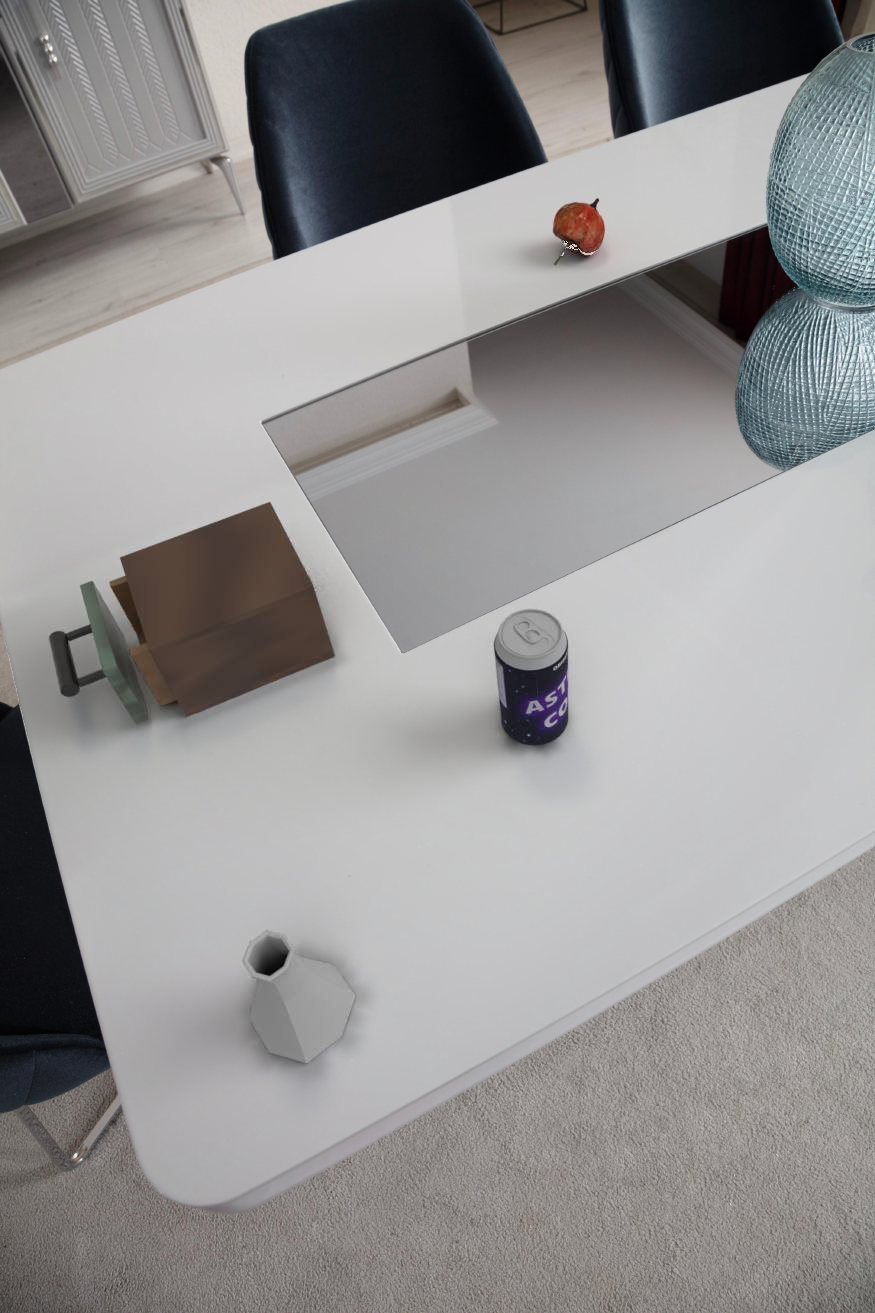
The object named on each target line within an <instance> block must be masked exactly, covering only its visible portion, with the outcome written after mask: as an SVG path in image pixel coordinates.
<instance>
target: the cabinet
mask: <svg viewBox="0 0 875 1313" xmlns="http://www.w3.org/2000/svg"><path fill="white" fill-rule="evenodd" d="M119 560H120V563H121V567H122V569H123V572H124V576H126V579H127V582H128V585H129V588H130V592H131V595H132V598H133V601H134V604H135V607H136V610H137V613H138V617H139V620H140V623H141V626H142V629H143V632H144V635H145V638H146V642H147V645H148V648H149V651H150V652H151V654H152V656H153V658H154V660H155V661H156V663H157V665H158V667H159V669H160V671H161V672H162V674H163V676H164V678H165V680H166V682H167V683H168V685H169V687H170V689H171V691H172V692H173V694H174V696H175V698H176V700H175V701H176V702H177V703H178V705H179V707H180V709H181V711H182V712H183V714H184V716H185V717H186V718H187V717H190V716H192V715H194V714H198V713H200V712H203V711H204V710H207V709H210V708H212V707H215V706H217V705H220V704H222V703H224V702H226V701H229V700H232V699H235V698H237V697H239V696H241V695H244V694H246V693H249V692H251V691H253V690H257V689H259V688H262V687H264V686H266V685H268V684H270V683H273V682H276V681H278V680H280V679H283V678H285V677H288V676H290V675H293V674H296V673H298V672H300V671H302V670H305V669H307V668H310V667H313V666H315V665H317V664H319V663H322V662H324V661H328V660H329V659H331V658H334V657H335V656H336V655H335V652H334V647H333V645H332V642H331V638H330V635H329V632H328V629H327V628H328V627H327V624H326V621H325V619H324V615H323V613H322V609H321V605H320V602H319V600H318V599H319V598H318V596H317V593H316V590H315V587H314V584H313V582H312V580H311V578H310V576H309V574H308V572H307V571H306V568H305V566H304V564H303V563H302V560H301V558H300V557H299V555H298V553H297V551H296V549H295V547H294V545H293V543H292V541H291V539H290V538H289V536H288V533H287V532H286V529H285V528H284V526H283V524H282V522H281V520H280V518H279V516H278V514H277V512H276V510H275V508H274V506H273V504H272V503H271V501H267V502H265V503H262V504H260V505H257V506H254V507H252V508H249V509H246V510H243V511H241V512H238V513H235V514H233V515H230V516H228V517H225V518H222V519H219V520H216V521H214V522H210V523H208V524H206V525H203V526H200V527H197V528H196V529H192V530H189V531H187V532H184V533H182V534H179V535H176V536H174V537H171V538H168V539H166V540H163V541H160V542H158V543H155V544H152V545H149V546H147V547H144V548H142V549H138V550H136V551H133V552H131V553H128V554H125V555H123V556H120V557H119Z"/></svg>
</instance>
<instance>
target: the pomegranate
mask: <svg viewBox="0 0 875 1313" xmlns="http://www.w3.org/2000/svg"><path fill="white" fill-rule="evenodd" d="M599 202H600V198H599V197H597V198H595V200H594V201H593V202H591V203H590V204H589V203H586V202H578V201H573V202H570V203H565V204H564V205H562V206H561V207H559V209H558V210H557V212H556V213H555V214H554V219H553V221H552V222H553V223H552V234H553V235H554V236H555V237H556V238H558V239H559V240H561V241H562V240H564V241H565V243H567V242H568V243H567V245H566V247H569V246H570V245H572V244H575V245H577V247H574V246H573V245H572V246H573V247H574V249H578V248H579V249H580V250H581V251H582V252H585V253H591V252H594V251H596V250H597V249H598V250H599V249H600V248H601V246H602V244H603V242H604V237H605V232H606V226H605V225H606V224H605V220H604V219H603V216H602V214H600V213H599V210H598V209H597V206H598V203H599ZM566 241H567V242H566ZM566 247H565V246H564V248H566ZM569 248H570V247H569ZM569 248H568V249H567V250H569V251H571V252H575V253H580V255H581V256H583V257H586V258H589V257H590V258H591V257H592V256H593V255H594V254H592V255H584V254H582V253H581V252H580V250H579V249H578V250H574V249H572V248H571V249H569ZM598 250H597V251H598ZM597 251H596V252H597ZM563 257H564V256H560V255H559V256H558V257H557V259H556V260H555V261H554V263H553V266H556V265H557V264H558V263H559V262H560V260H561V258H563Z"/></svg>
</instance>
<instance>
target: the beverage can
mask: <svg viewBox="0 0 875 1313" xmlns="http://www.w3.org/2000/svg"><path fill="white" fill-rule="evenodd" d="M493 651H494V661H495V672H496V682H497V691H498V702H499V703H498V704H499V711H500V712H499V713H500V721H501V726H502V729H503V730H504V732H505V733H506V734H507V736H509V737H510V738H511V739H512V740H514V741H515V742H517V743H519V744H522V745H528V746H542V745H546V744H549V743H551V742H553V741H555V740H557V739H558V738H560V737H561V736H562V734H564V732H565V730H566V728H567V726H568V723H569V638H568V635H567V633H566V631H565V630H564V629H563V626H562V624H561V622H560V621H559V620H558V618H557V617H556V616H555V615H553V614H552V613H550V612H548V611H546V610H542V609H539V608H525V609H520V610H517V611H515V612H512V613H511V614H509V615H507V616H506V617H505V618H504V619H503V620H502V622H501V623H500V625H499V627H498V630H497V633H496V635H495V637H494V640H493Z"/></svg>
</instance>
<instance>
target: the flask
mask: <svg viewBox="0 0 875 1313" xmlns="http://www.w3.org/2000/svg"><path fill="white" fill-rule="evenodd" d="M296 952H297V950H296V949H295V948H294V946H293V945H292V943H291V941H290V940H289V938H288V937H287V935H286V934H284V933H281V932H276V931H273V930H269V929H266V930H264V931H263V932H261V933H260V934H259V935H257V936H255V938H253V939H252V940H250V941H249V943H248V945H247V947H246V949H245V952H244V954H243V957H242V959H241V962H242V964H243V965H244V967H245V969H246V970H247V972H248V973H249V974H248V975H250V977H251V978H252V979H255V980H256V986H255V992H254V996H253V1002H252V1007H251V1010H250V1012H249V1018H248V1020H249V1021H250V1023H251V1025H252V1027H253V1028H254V1030H255V1032H256V1033H257V1035H258V1037H259V1038H260V1040H261V1042H262V1043H263V1045H264V1047H265V1048H266V1050H267V1051H268V1053H269V1054H273V1055H277V1056H279V1057H280V1056H281V1057H284V1058H287V1059H290V1060H294V1061H296V1062H297V1061H298V1062H301V1063H305V1064H308V1063H310V1062H311V1061H313V1059H314V1058H316V1057H317V1056H318V1055H320V1054H322V1052H324V1051H325V1050H326V1049H327V1048H329V1047H330V1046H331V1045H333V1044H334V1043H335V1042H336V1041H338V1040H339V1039H340V1038H342V1037H343V1035H344V1032H345V1028H346V1026H347V1022H348V1020H349V1017H350V1013H351V1011H352V1007H353V1005H354V1002H355V999H356V995H355V993H354V991H353V990H352V988H351V987H350V986H349V985H348V983H347V981H346V980H345V978H344V977H343V976H342V974H341V973H340V972H339V970H338V969H337V967H336V965H334V964H330V963H327V962H323V961H319V960H315V959H311V958H308V957H303V956H300V955H297V954H296Z"/></svg>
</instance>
